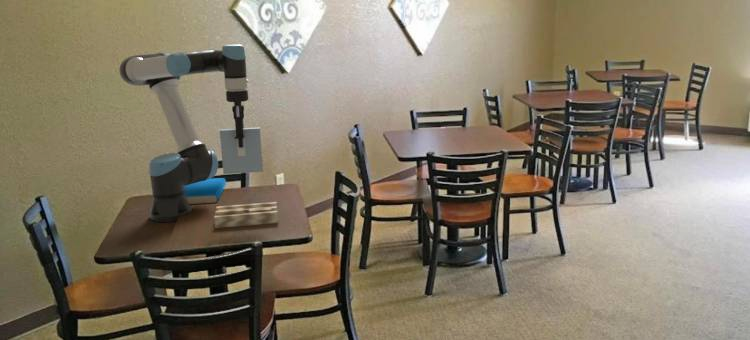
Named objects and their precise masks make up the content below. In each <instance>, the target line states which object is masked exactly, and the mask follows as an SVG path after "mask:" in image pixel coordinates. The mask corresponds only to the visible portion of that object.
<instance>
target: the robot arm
mask: <svg viewBox="0 0 750 340" xmlns="http://www.w3.org/2000/svg"><path fill="white" fill-rule="evenodd" d="M246 64H247V63H246V52H245V47H244V45H242V44H223V45H222V48H221V49H213V48H212V49H205V50H199V51H188V52H184V51H183V52H175V53H167V52H166V53H164V52H157V53H148V54H140V55H132V56H128V57H127V58H125V59H124V60H123V61H121V63H120V65H119V75H120V77H121V79H122V80H123V81H124V82H125V83H127V84H129V85H131V86H135V87H136V86H137V87H138V86H139V87H140V86H142V87H143V86H148V87H149V89H150V91H151V93H154V94H156V96H157V99H158V101H159V104H160V106H161V109H162V111H163V114H164V117H165V119H166V121H167V124H168V126H169V129H170V131H171V134H172V137H173V139H174V142H175V144H176V146H177V151H176V152H169V153H165V154H159V155H158V156H155V157H154V158H152V159H151V160H150V162H149V164H148V168H149V169H148V173H149V175H150V177H149V178H150V185H151V193H152V203H151V205H150V206H151V207H150V211H149V216H150V220H151V221H153V222H156V223H157V222H158V223H173V222H177V221H178V220H179V218H181V217H184V216H187V215H189V214H190V213H191V212H192V206H191V204H189V202H188V200H187V198H186V195H185V189H184V186H186V185H189V184H193V183H197V182H200V181H206V180H207V179H213V178H214V177H215V176H216V174H217V173H218V169H219V161H218V157H217V156H218V155H217V154H216V152H215V151H214V150H212V149H210V148H207V146H206V143H204V142H202V141H200V139H199V136H198V135H197V134H198V133H197V132H196V129H195V127H194V124H193V122H192V119H191V117H190V114H189V112H188V108H187V107H186V104H185V102H184V100H183V97H182V94H181V92H180V89H179V87H178V86H179V84H180V79H181V77H182V76H189V75H190V76H191V75H197V74H206V73H214V72H220V73H221V72H223V75H224V87H225V90H226V91H225V96H226V97H225V98H226V101H227V102H228V103H233V105H232V106H231V108H232V113H233V120H234V125H235V127H234V128H235V129H236V137H235V139H237V150H238V156H246V152H245V140H244V133H243V128H245V127H244V117H245V113H244V112H245V105H243V104H242V102H247V101H249V92H248V89H247V88H248V83H249V82H250V81H249V79H247V76H248V75H247V65H246Z"/></svg>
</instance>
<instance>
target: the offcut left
mask: <svg viewBox="0 0 750 340" xmlns="http://www.w3.org/2000/svg"><path fill="white" fill-rule="evenodd" d="M243 213H244V210H243V208H238V209H226V210H218V212H217V214H218V216H219V215H231V214H243Z"/></svg>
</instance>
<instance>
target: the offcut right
mask: <svg viewBox="0 0 750 340" xmlns="http://www.w3.org/2000/svg"><path fill="white" fill-rule="evenodd" d="M268 211H272V209H271V207H267V208H255V209H249V213H256V212H268Z"/></svg>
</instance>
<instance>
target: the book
mask: <svg viewBox="0 0 750 340" xmlns="http://www.w3.org/2000/svg"><path fill="white" fill-rule="evenodd" d="M226 184H227V180H226V179H225V177H217V178H216V177H215V178H214V177H213V178H210V179H207V180H206V181H200V182H197V183H193V184H189V185H186V186H184V189H185V195H186V198H187V200H188V202H189V204H190V205H194V204H196V205H197V204H211V203H212V204H214V203H217V202H218V201H219V199H220V197H221V195H222V192H223V191H224V189H225V187H226Z"/></svg>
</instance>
